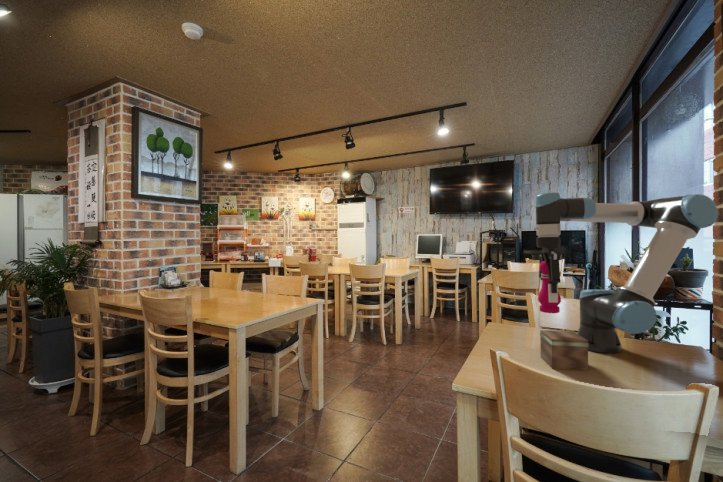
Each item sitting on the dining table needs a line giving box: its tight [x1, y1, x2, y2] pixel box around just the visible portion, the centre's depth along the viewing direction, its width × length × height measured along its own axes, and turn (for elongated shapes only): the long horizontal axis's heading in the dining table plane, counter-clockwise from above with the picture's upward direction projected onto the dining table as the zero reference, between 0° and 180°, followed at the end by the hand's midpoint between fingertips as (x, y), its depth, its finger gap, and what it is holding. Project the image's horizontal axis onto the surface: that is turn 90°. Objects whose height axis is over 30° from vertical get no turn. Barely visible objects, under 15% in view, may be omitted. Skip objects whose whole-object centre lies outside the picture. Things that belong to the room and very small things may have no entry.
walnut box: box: [539, 329, 589, 372], centre depth 116 cm, size 11×11×10 cm
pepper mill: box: [537, 261, 562, 314], centre depth 119 cm, size 7×7×20 cm
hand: (549, 300), depth 119 cm, fingers closed on pepper mill, 7 cm apart
